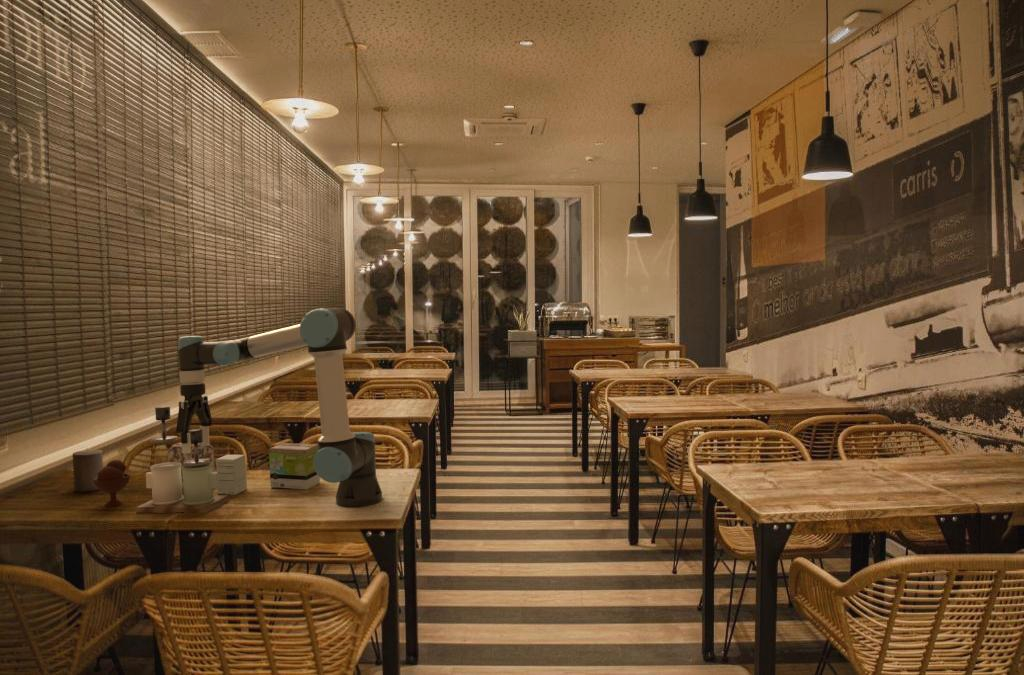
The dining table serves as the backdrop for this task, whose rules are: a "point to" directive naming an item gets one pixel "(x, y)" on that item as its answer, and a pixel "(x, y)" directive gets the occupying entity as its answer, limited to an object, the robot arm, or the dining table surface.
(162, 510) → the walnut board
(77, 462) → the pillar candle
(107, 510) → the dining table surface
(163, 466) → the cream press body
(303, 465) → the tea box
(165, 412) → the cream press plunger
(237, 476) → the supplement box
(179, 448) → the decorative jar
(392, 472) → the dining table surface
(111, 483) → the ice cream bowl
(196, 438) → the sage plunger
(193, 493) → the sage press body
